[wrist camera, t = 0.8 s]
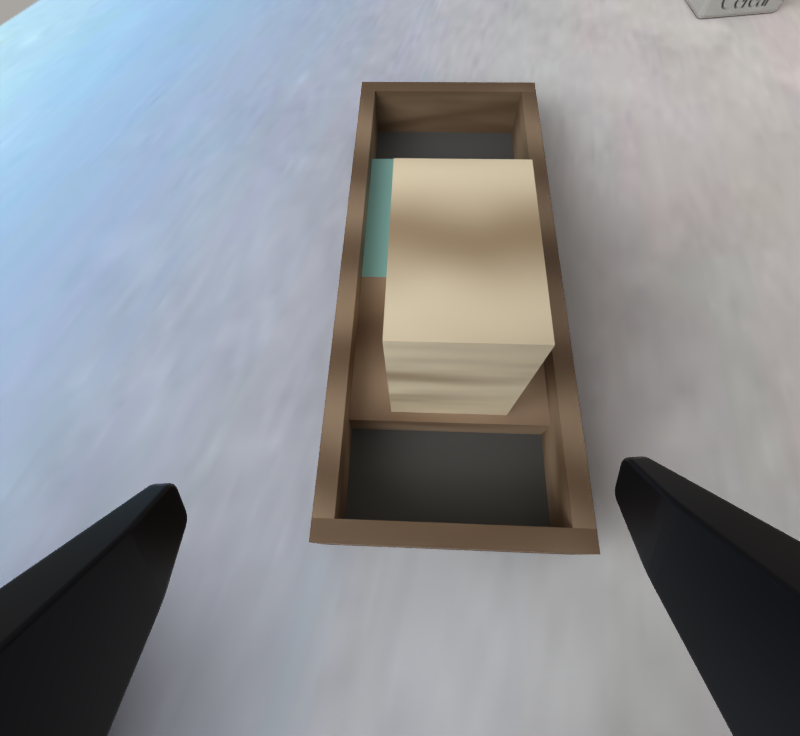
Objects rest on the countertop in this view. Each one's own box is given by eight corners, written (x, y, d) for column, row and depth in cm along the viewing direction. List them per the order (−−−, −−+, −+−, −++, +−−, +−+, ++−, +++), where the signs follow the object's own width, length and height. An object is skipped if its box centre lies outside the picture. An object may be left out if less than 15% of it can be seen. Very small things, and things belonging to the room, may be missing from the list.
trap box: (571, 554, 21) (600, 554, 18) (323, 544, 22) (308, 542, 18) (522, 127, 34) (534, 82, 30) (366, 126, 34) (362, 82, 31)
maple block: (506, 415, 22) (555, 344, 15) (391, 411, 22) (382, 340, 15) (497, 272, 26) (532, 159, 18) (398, 270, 26) (393, 158, 19)
